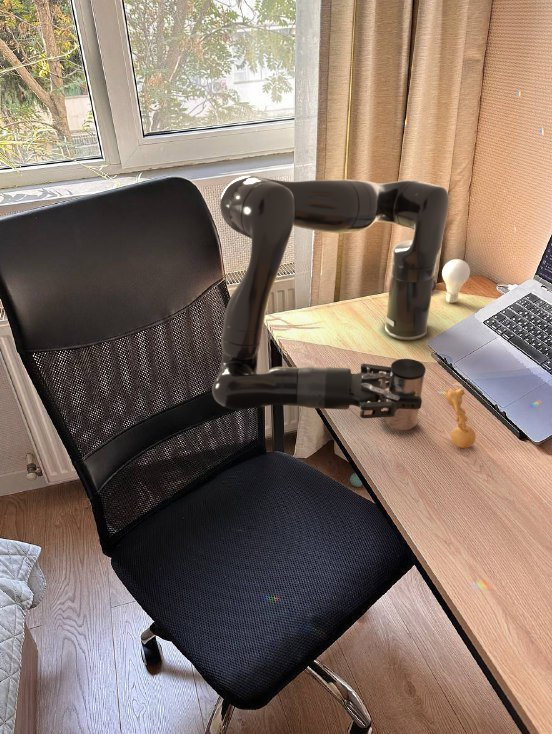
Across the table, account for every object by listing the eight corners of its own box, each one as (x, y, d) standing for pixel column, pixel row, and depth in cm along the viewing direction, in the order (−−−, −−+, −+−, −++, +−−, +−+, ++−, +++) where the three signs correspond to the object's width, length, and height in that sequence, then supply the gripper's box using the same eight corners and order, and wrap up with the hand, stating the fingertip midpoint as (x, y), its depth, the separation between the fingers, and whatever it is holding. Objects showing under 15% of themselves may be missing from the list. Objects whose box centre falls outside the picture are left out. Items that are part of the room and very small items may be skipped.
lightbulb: (469, 301, 145) (476, 259, 139) (456, 310, 141) (464, 267, 135) (445, 294, 149) (452, 253, 142) (433, 303, 145) (439, 261, 139)
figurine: (478, 461, 99) (491, 404, 92) (441, 460, 99) (452, 403, 92) (468, 430, 105) (480, 375, 98) (434, 429, 106) (443, 374, 99)
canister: (384, 410, 110) (390, 357, 103) (416, 411, 109) (424, 359, 102) (385, 429, 105) (391, 376, 98) (418, 431, 104) (427, 377, 98)
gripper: (322, 394, 97) (426, 399, 95) (326, 349, 109) (419, 352, 106) (321, 429, 102) (420, 434, 99) (324, 382, 113) (414, 386, 111)
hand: (419, 392), depth 103 cm, fingers closed on canister, 5 cm apart
